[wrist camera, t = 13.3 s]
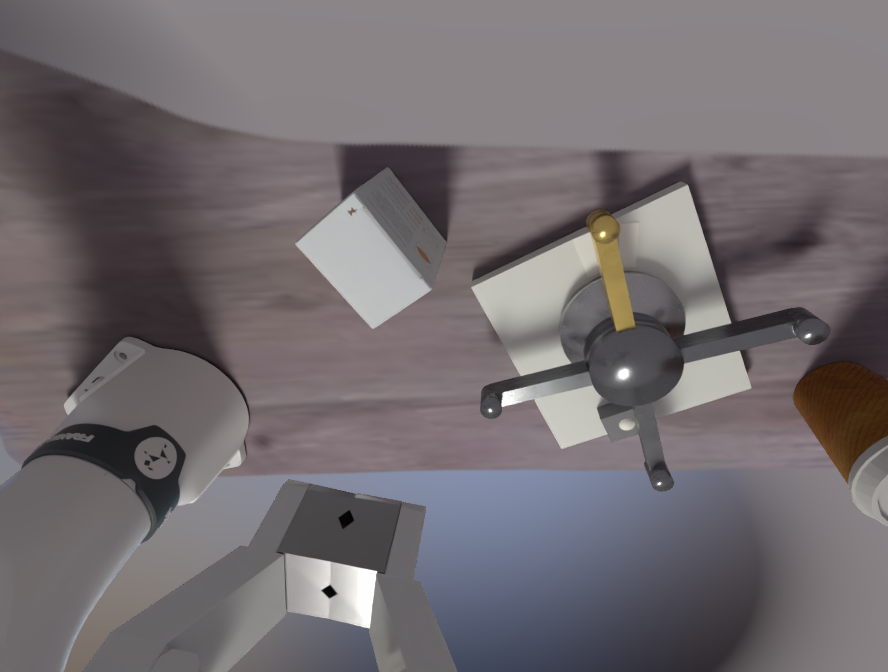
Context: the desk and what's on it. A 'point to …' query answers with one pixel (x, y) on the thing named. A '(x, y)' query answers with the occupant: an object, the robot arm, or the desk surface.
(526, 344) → the stand
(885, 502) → the disposable coffee cup
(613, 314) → the capstan
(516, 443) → the desk surface
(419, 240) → the small box
